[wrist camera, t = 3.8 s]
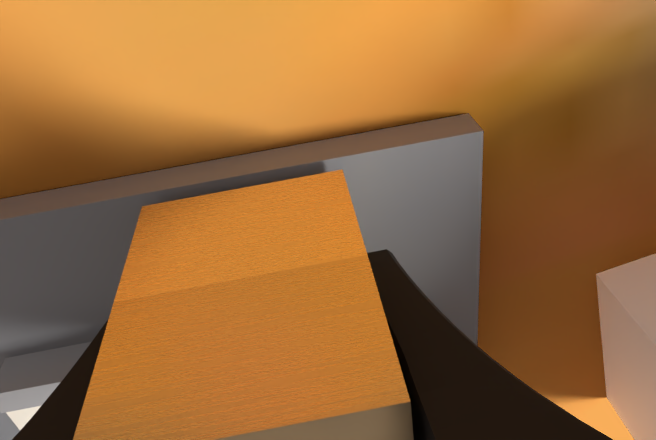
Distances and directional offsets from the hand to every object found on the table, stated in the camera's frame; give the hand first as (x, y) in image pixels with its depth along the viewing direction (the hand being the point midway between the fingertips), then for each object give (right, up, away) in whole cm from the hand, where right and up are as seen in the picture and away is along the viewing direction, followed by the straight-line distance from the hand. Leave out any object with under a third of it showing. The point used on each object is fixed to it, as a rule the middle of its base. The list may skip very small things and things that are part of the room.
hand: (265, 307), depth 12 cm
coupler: (0, +1, +1) cm, 1 cm away
